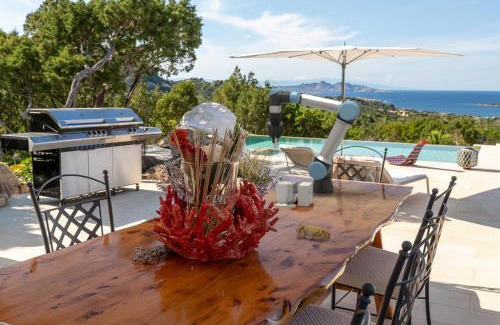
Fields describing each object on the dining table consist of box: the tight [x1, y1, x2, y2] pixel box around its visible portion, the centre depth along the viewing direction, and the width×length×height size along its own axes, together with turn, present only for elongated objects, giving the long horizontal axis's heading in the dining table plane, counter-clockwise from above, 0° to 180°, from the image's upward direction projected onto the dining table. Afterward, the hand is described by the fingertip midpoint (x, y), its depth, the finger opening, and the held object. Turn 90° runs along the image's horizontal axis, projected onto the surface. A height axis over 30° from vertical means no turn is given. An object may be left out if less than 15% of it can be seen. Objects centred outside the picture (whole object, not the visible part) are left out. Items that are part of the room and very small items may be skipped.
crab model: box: [295, 224, 331, 242], centre depth 207 cm, size 16×13×6 cm
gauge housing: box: [274, 181, 314, 209], centre depth 273 cm, size 18×18×12 cm
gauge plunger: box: [288, 181, 298, 205], centre depth 272 cm, size 10×18×12 cm, turn 161°
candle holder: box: [275, 180, 293, 204], centre depth 278 cm, size 10×10×12 cm
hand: (275, 148), depth 308 cm, fingers closed
